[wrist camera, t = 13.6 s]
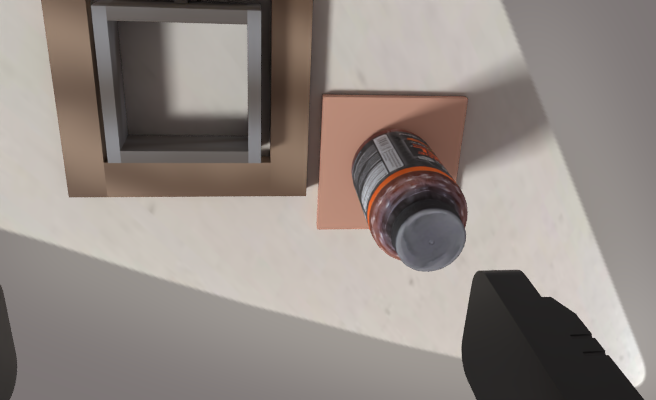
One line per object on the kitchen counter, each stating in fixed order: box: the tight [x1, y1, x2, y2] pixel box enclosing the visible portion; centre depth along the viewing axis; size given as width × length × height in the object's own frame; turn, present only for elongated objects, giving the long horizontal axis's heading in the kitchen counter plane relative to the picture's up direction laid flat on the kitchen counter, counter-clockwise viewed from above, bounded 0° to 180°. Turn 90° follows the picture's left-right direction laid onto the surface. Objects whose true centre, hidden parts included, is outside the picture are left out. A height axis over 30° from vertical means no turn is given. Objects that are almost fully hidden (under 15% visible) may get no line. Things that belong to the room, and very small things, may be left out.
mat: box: [317, 94, 468, 229], centre depth 45 cm, size 10×10×1 cm
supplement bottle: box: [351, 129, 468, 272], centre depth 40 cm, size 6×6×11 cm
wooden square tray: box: [41, 0, 313, 197], centre depth 40 cm, size 16×16×3 cm
